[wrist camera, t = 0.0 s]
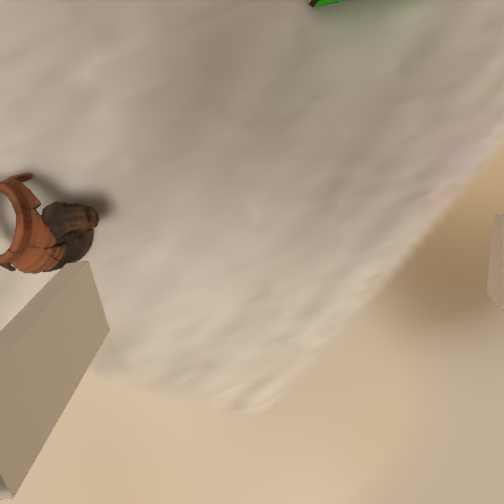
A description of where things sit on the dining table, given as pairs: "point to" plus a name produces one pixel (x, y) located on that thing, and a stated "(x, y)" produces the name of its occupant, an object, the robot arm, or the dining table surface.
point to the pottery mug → (45, 230)
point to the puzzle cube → (321, 2)
